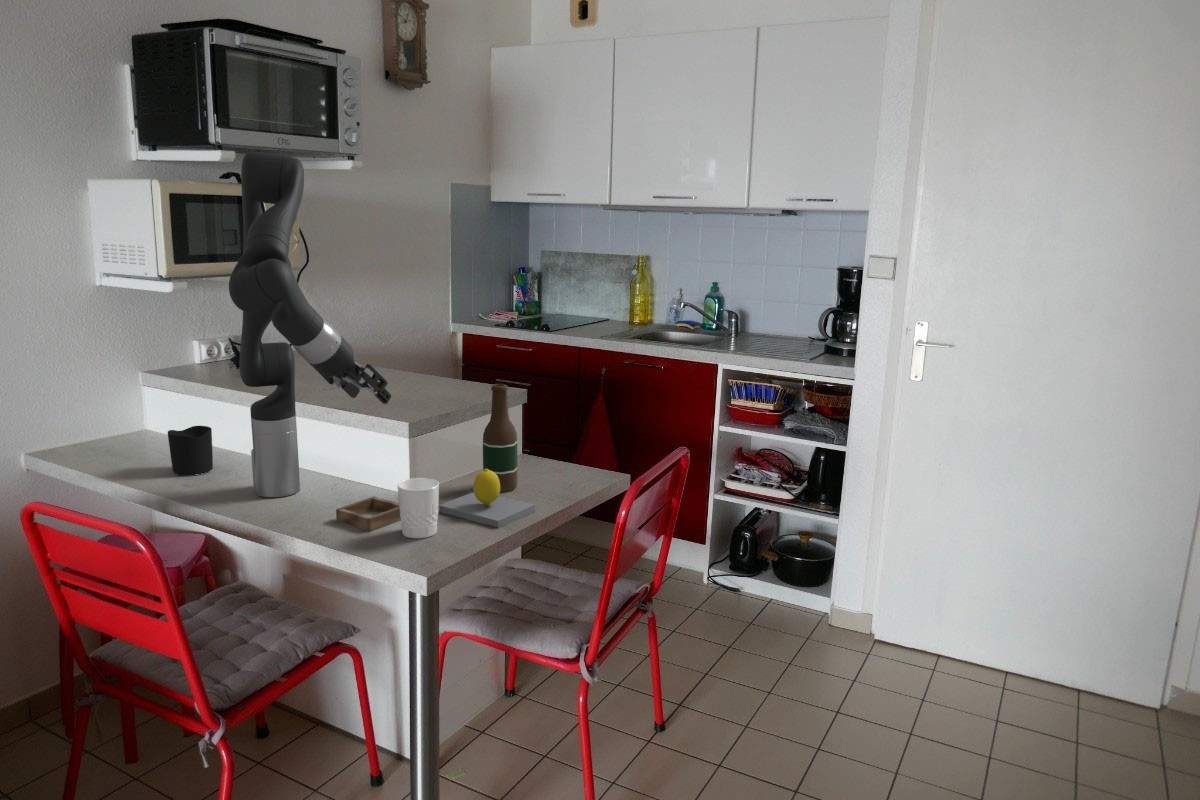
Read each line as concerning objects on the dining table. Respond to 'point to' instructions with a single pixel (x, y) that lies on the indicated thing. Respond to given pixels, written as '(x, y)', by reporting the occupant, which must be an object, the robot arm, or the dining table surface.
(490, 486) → the lemon
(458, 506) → the gray board
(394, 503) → the walnut collar
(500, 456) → the beer bottle
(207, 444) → the pen holder
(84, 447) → the dining table surface
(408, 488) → the white cup
